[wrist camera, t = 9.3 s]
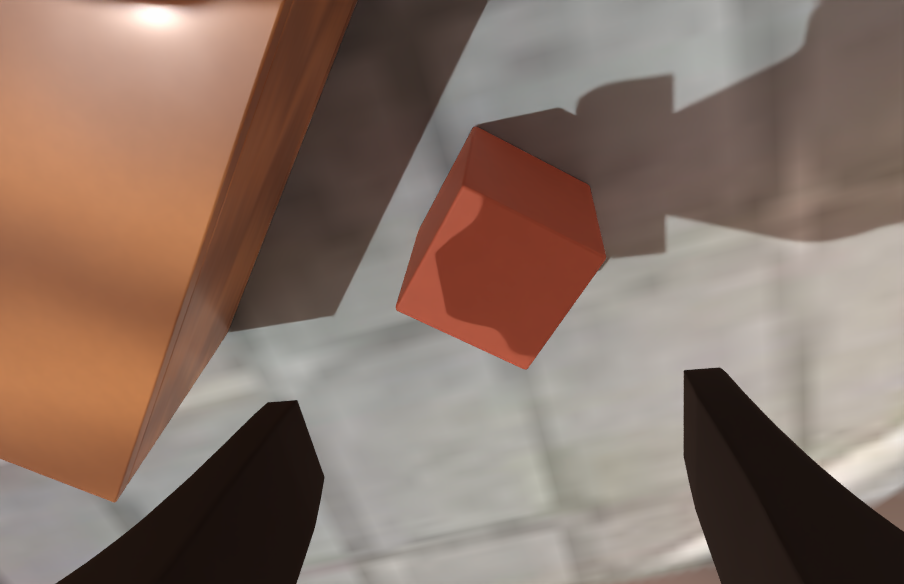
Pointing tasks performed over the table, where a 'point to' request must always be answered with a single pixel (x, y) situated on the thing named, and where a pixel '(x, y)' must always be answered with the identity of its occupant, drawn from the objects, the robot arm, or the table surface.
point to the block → (502, 251)
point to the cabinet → (136, 207)
